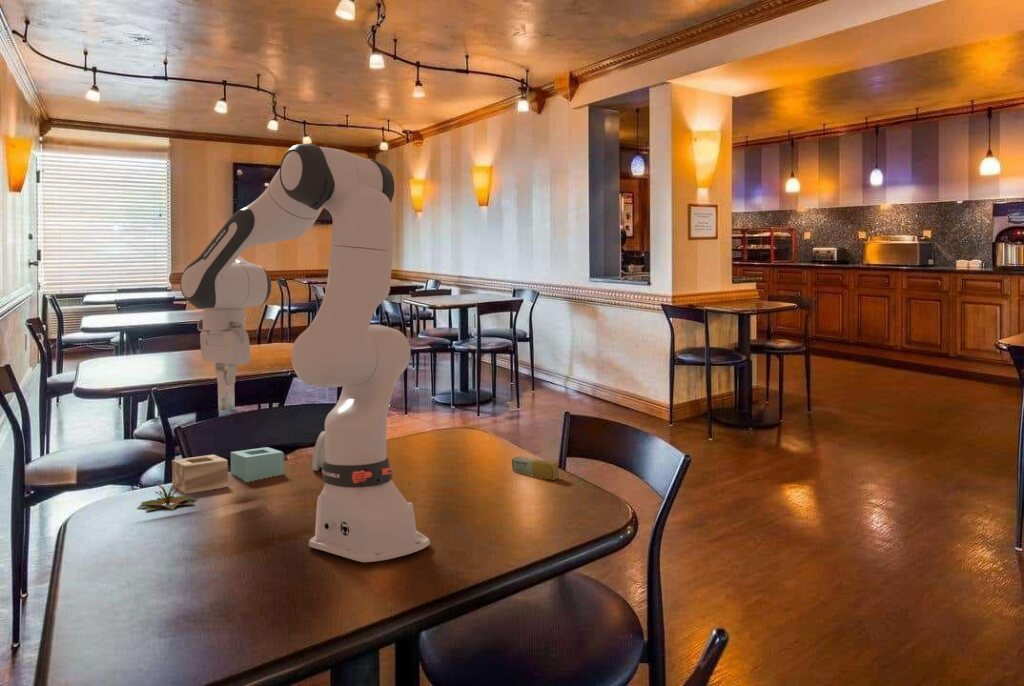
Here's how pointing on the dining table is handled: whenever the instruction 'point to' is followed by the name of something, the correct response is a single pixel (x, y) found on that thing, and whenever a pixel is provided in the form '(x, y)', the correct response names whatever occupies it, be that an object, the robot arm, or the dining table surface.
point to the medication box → (536, 467)
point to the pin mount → (200, 473)
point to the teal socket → (257, 463)
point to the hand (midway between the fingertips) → (226, 383)
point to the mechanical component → (319, 452)
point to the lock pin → (225, 393)
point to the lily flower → (167, 500)
